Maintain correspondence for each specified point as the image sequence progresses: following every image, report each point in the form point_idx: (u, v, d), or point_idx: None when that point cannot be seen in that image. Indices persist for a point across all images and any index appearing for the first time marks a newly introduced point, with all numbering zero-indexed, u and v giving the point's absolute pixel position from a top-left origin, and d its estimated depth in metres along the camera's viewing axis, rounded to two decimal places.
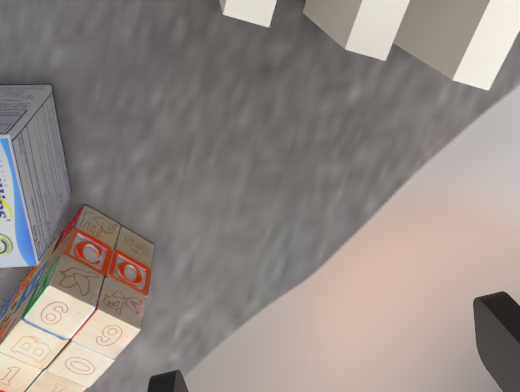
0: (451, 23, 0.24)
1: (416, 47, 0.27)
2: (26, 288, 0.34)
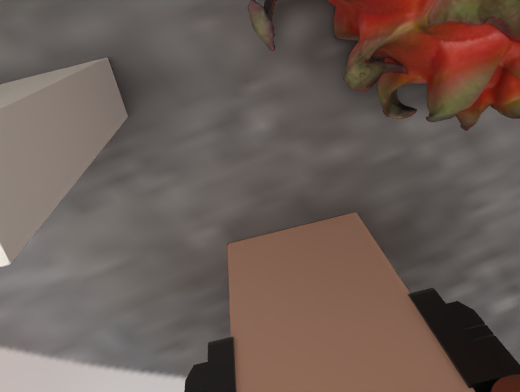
0: None
1: None
2: None
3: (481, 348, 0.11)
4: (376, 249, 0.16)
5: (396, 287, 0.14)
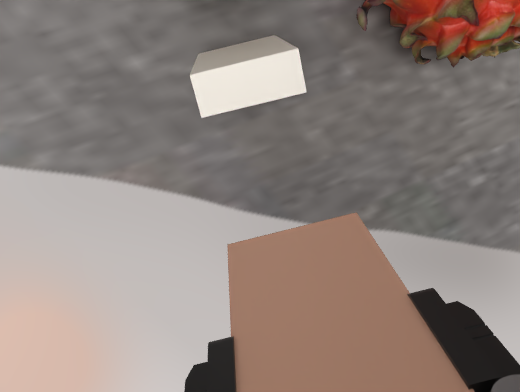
0: (235, 57, 0.24)
1: (202, 60, 0.26)
2: None
3: (481, 348, 0.11)
4: (376, 250, 0.16)
5: (396, 288, 0.14)
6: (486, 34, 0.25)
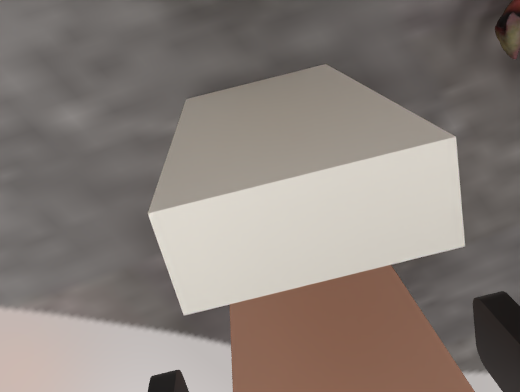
0: (268, 141, 0.10)
1: (190, 132, 0.12)
2: None
3: None
4: None
5: (388, 275, 0.14)
6: None
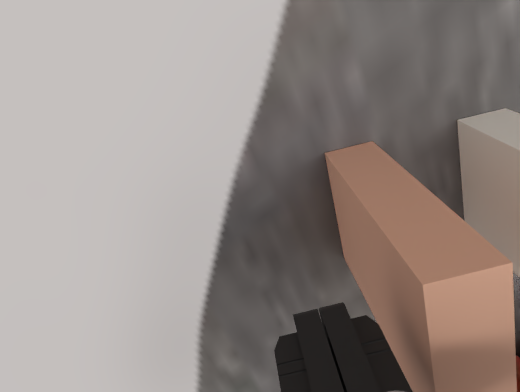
0: None
1: None
2: None
3: (376, 363, 0.12)
4: None
5: None
6: None
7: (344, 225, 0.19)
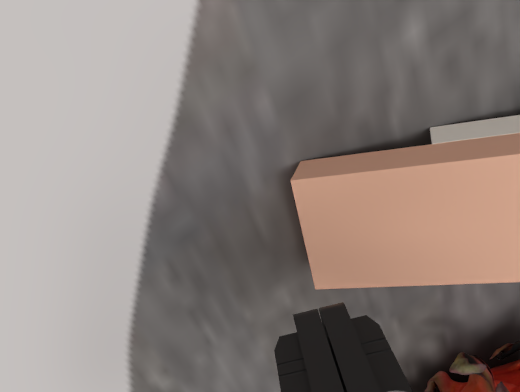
0: None
1: None
2: None
3: (376, 363, 0.12)
4: None
5: None
6: None
7: (344, 236, 0.19)
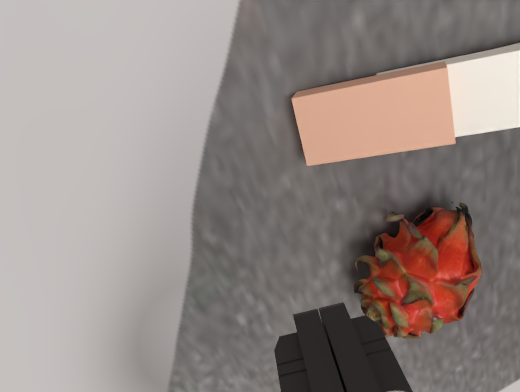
0: None
1: None
2: None
3: (376, 363, 0.12)
4: None
5: None
6: (396, 312, 0.34)
7: (322, 130, 0.34)
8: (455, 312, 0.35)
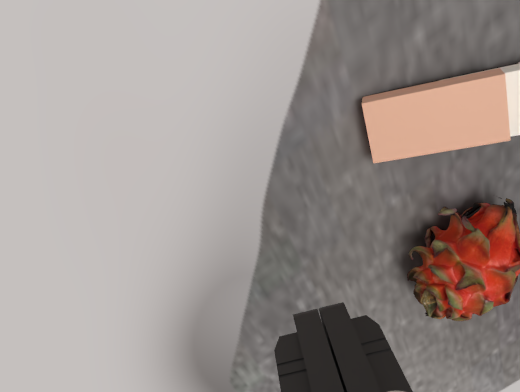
0: None
1: None
2: None
3: (376, 363, 0.12)
4: None
5: None
6: (452, 296, 0.38)
7: (388, 131, 0.38)
8: (502, 296, 0.40)
